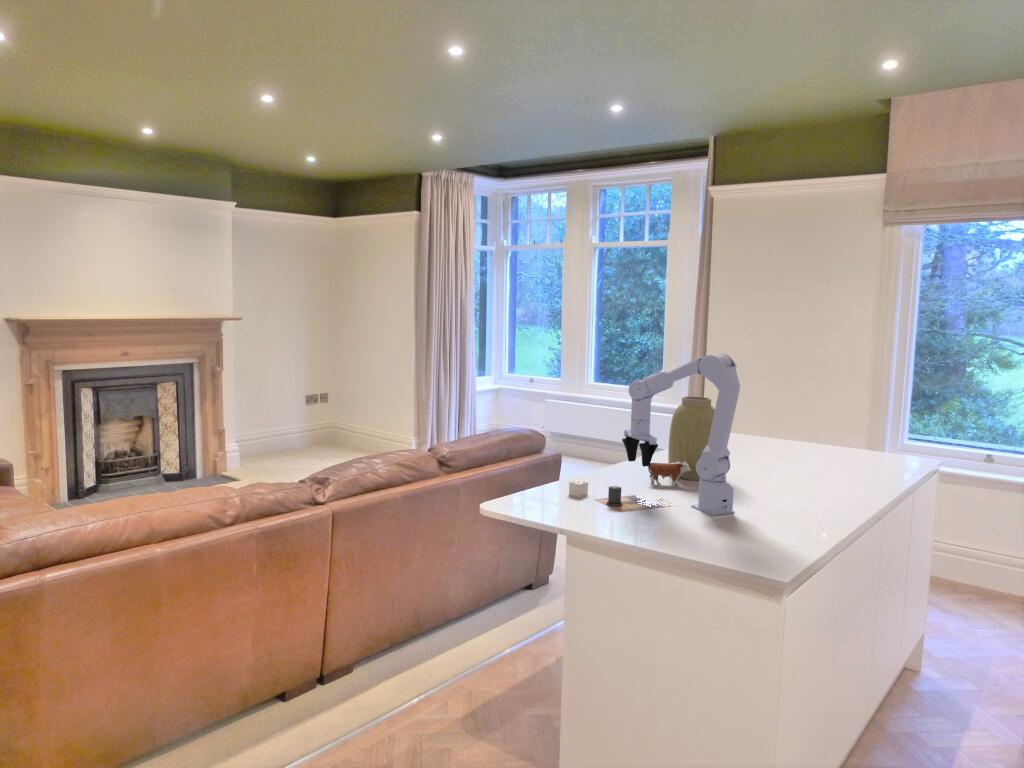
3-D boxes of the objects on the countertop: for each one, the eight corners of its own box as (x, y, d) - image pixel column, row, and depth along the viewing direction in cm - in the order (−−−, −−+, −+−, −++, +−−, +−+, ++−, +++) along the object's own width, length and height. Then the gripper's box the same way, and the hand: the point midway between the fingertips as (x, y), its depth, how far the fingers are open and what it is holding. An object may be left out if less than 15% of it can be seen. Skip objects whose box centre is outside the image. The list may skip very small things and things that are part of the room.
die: (587, 495, 214) (588, 482, 213) (579, 497, 211) (579, 484, 211) (577, 492, 217) (577, 479, 216) (569, 494, 214) (569, 481, 213)
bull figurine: (690, 488, 225) (691, 463, 224) (647, 485, 228) (648, 460, 227) (689, 485, 229) (690, 460, 229) (647, 482, 232) (648, 457, 231)
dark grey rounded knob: (625, 505, 202) (625, 488, 201) (611, 507, 200) (612, 490, 199) (616, 502, 206) (617, 485, 205) (603, 503, 204) (604, 486, 203)
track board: (679, 506, 204) (679, 505, 203) (620, 512, 195) (620, 511, 195) (650, 494, 216) (650, 493, 216) (594, 500, 208) (594, 499, 208)
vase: (702, 469, 253) (706, 394, 250) (728, 480, 236) (733, 401, 234) (658, 471, 248) (661, 395, 246) (682, 483, 232) (686, 401, 229)
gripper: (616, 416, 219) (614, 459, 221) (643, 423, 206) (641, 469, 207) (635, 415, 222) (633, 458, 223) (663, 422, 209) (661, 467, 210)
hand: (638, 463), depth 216 cm, fingers open, 7 cm apart
